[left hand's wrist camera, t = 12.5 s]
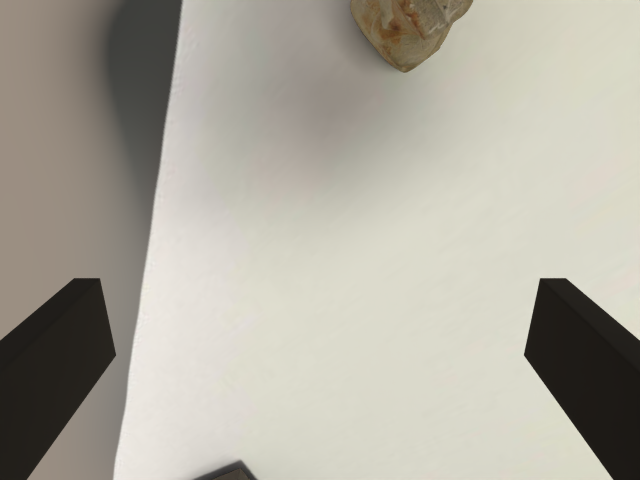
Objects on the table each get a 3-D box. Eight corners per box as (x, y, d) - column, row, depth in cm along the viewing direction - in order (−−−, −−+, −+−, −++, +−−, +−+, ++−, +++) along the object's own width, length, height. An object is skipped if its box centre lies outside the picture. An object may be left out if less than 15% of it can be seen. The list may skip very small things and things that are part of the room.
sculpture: (398, -40, 34) (455, -119, 20) (443, 42, 36) (521, 24, 22) (337, 7, 35) (349, -35, 21) (383, 84, 37) (422, 93, 23)
